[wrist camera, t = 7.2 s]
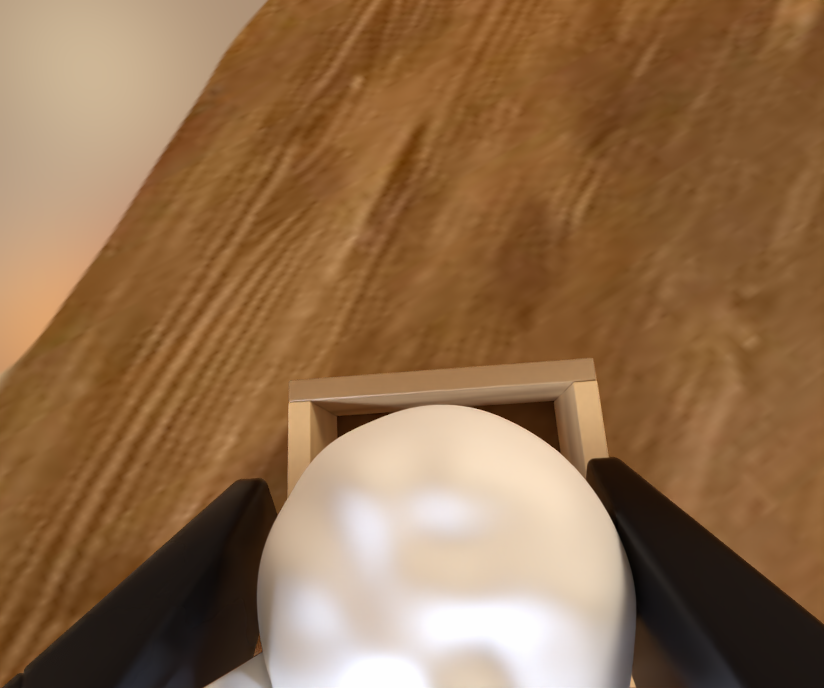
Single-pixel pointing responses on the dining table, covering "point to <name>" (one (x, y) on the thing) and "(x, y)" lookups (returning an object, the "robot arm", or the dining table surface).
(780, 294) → the dining table surface
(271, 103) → the dining table surface
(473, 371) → the crate
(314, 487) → the milkshake
